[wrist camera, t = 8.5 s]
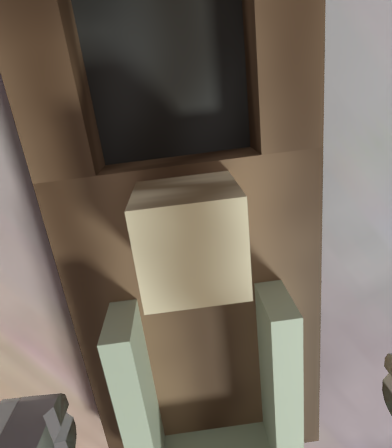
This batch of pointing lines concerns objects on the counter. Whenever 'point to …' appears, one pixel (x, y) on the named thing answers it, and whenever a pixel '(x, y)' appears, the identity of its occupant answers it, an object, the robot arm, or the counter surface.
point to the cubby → (219, 437)
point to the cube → (190, 242)
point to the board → (175, 172)
